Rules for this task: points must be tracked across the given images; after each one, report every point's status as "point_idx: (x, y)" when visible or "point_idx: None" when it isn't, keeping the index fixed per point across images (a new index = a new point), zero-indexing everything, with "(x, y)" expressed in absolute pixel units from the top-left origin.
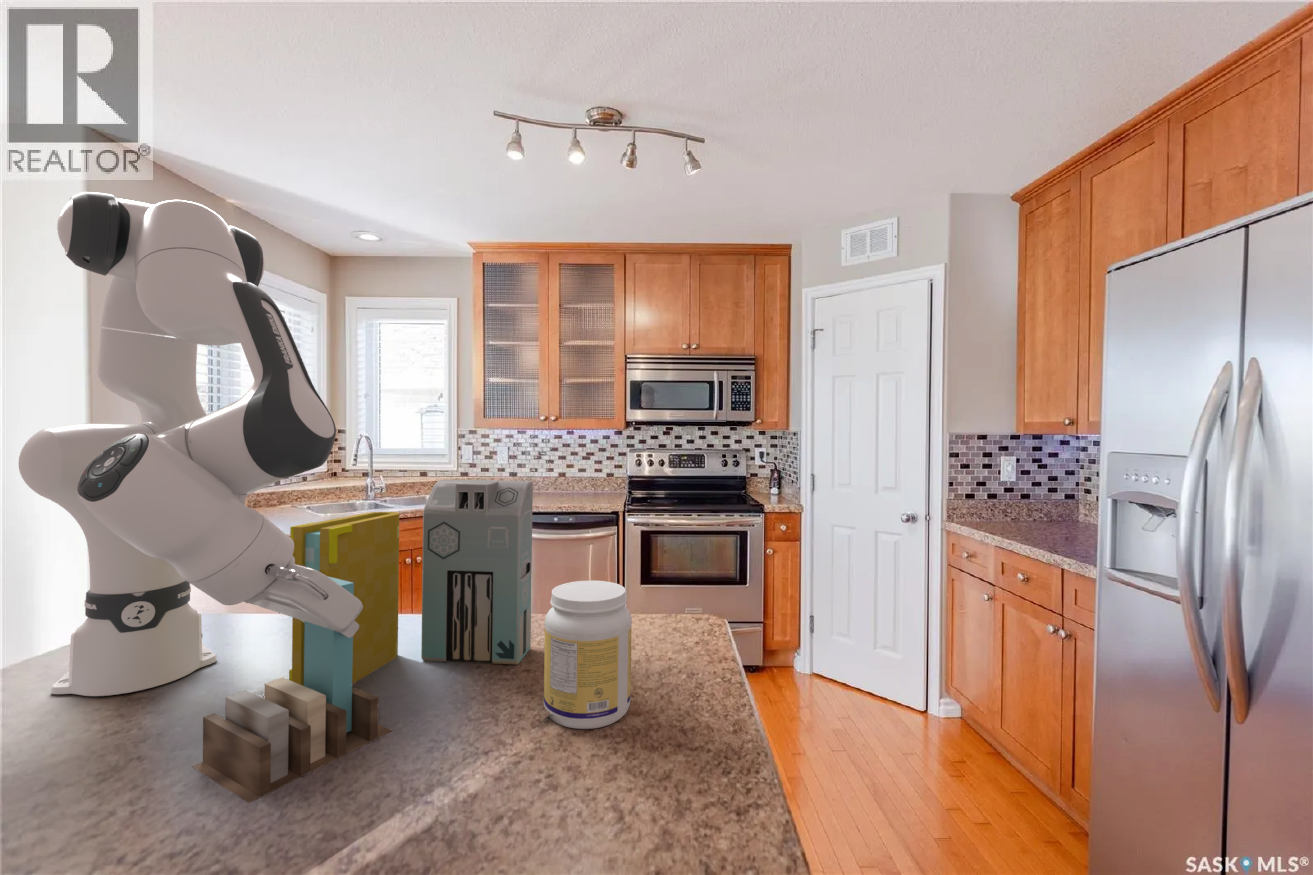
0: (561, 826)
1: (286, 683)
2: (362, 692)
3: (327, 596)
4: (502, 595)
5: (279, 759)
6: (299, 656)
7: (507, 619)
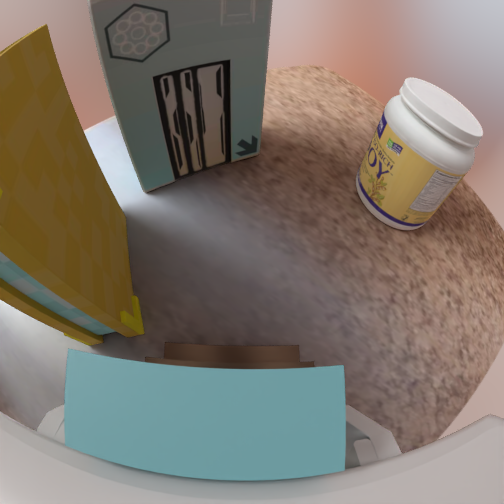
0: (484, 329)
1: None
2: (277, 367)
3: (302, 477)
4: (244, 87)
5: None
6: (65, 326)
7: (250, 114)
